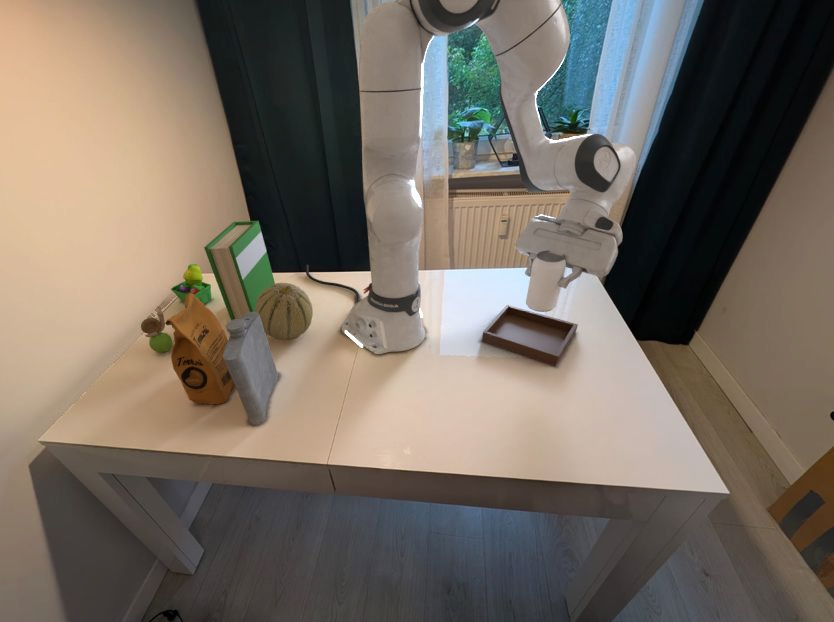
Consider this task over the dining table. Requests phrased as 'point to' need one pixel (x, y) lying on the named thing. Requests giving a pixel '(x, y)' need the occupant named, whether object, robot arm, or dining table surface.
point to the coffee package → (200, 353)
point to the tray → (530, 334)
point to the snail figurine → (157, 333)
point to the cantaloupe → (284, 311)
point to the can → (545, 281)
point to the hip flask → (250, 364)
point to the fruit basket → (193, 285)
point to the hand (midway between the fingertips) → (544, 281)
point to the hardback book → (240, 266)
